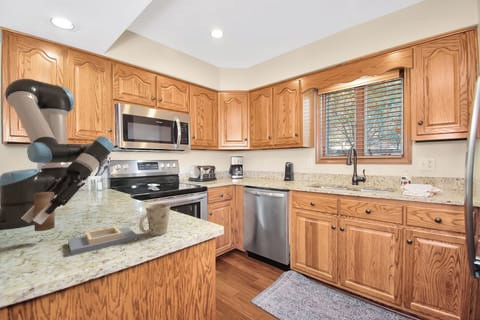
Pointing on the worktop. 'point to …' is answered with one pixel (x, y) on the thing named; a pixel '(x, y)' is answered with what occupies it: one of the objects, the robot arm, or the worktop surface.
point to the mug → (156, 219)
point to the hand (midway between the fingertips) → (31, 221)
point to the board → (101, 239)
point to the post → (39, 204)
